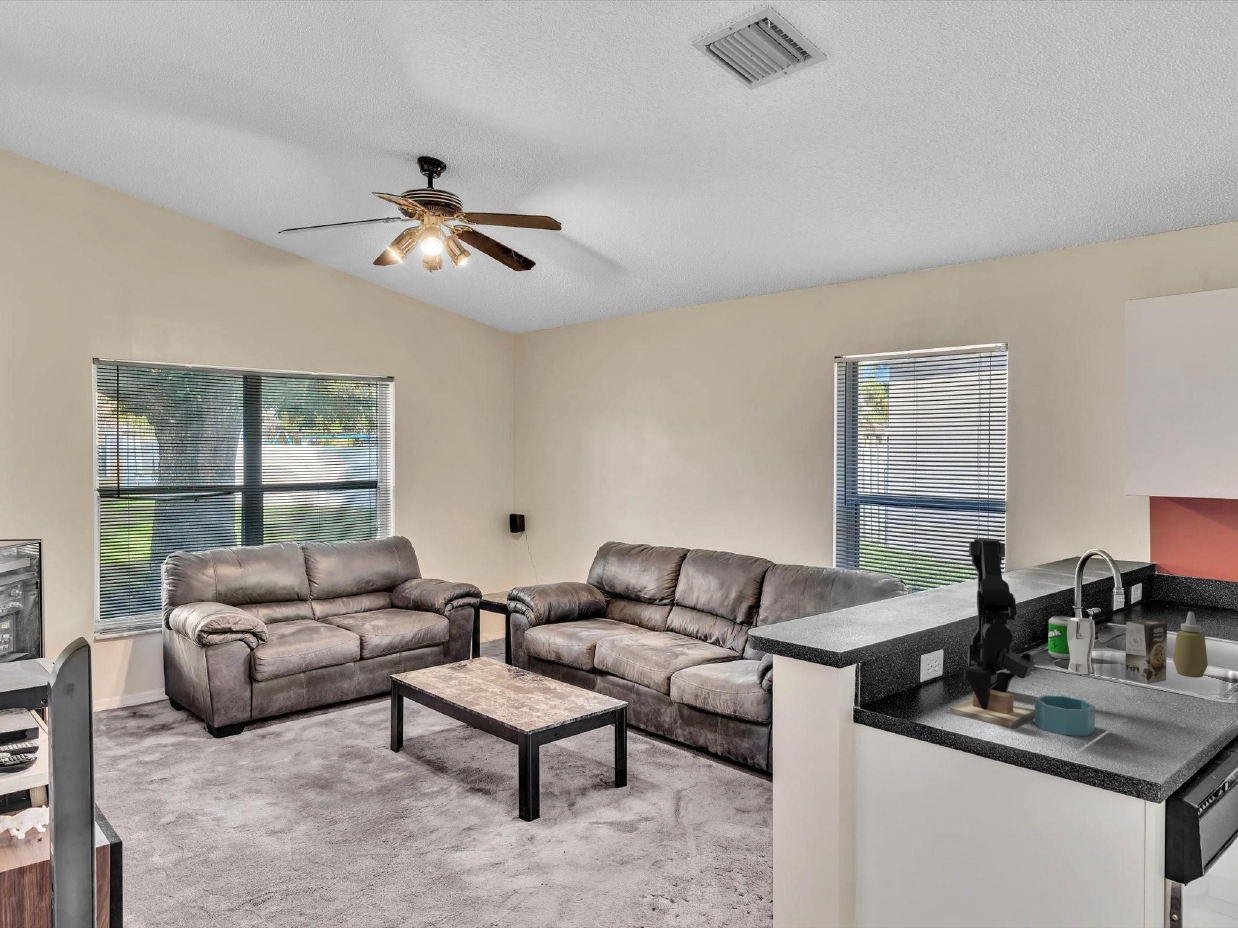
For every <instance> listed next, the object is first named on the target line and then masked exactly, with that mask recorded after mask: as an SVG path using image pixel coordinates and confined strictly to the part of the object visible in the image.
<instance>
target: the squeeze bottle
mask: <svg viewBox="0 0 1238 928" xmlns="http://www.w3.org/2000/svg"><path fill="white" fill-rule="evenodd" d="M1172 661H1173V664H1174V667H1175V669H1176V672H1177V674H1178V675H1179V676H1183V677H1187V678H1195V679H1197V678H1204V674H1205V672H1206V671H1207V668H1208V665H1209V663H1208V654H1207V644H1206V636H1205V634H1203V633H1202V625H1199V624H1197V620H1196V618H1195V612H1193V611H1188V613H1187V616H1186V620H1185V622H1184V623H1180V630H1179V631H1177V632H1176V637H1175V645H1174V652H1173V658H1172Z"/></svg>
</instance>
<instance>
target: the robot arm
mask: <svg viewBox="0 0 1238 928" xmlns="http://www.w3.org/2000/svg"><path fill="white" fill-rule="evenodd" d="M968 555H969V557H971V564H972V566H973V567H974V569H975V570H976V572H977V592H976V609H977V629H976V630H975V632H974V633H973V634H972V636H971V640H970V643H969V644H968V647H967V648H968V649H967V665H968V667H967V668H966V669H964V671H963V672H964V673H963V676H964V677H963V679H964V680H965V681H966V682H967V683H969V686H968V687H967V689H968V690H971V691H972V692H973V691H974V693H975V695H976V697H977V699H978V701H979V703H980V705H981V708H982V709H984V710H987V709H988V704H989V697H990V691H991V690H995V691H1000V692H1004V693H1008V689H1009V686H1010V683H1011V681H1012V680H1013V679H1014V678H1016V677H1017V678H1019V679H1025V678H1027V677H1030V675H1031V672H1032V671H1033V669H1035V668H1036V665H1035V664H1036V662H1035V661H1034V655H1033V654H1031V653H1029V652H1024V653H1023V654H1022V655H1021V654H1020V653H1014V652H1013V648H1012V646H1011V645H1012V643H1013V637H1014V636H1013V634H1012V633H1013V632H1012V631H1011V629H1010V628H1009V625H1008V624H1009V623H1008V620H1009V621H1014V620H1015V617H1016V616H1017V603H1016V598H1015V596H1014V594H1013V592H1011V591H1010V585H1009V583H1008V582H1006V581H1005V580H1004V579H1003V574H1002V566H1001V565H1002V559H1005V557H1006V542H1001V541H1000V540H999V539H983V538H981V539H980V538H974V539H973V541H970V542H969V544H968Z"/></svg>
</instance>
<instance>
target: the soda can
mask: <svg viewBox="0 0 1238 928" xmlns="http://www.w3.org/2000/svg"><path fill="white" fill-rule="evenodd" d="M1068 618H1070V617H1069V616H1064V615H1062V616H1061V615H1059V616H1058V615H1056V616H1055V615H1054V616H1051V618H1049V619H1048V645H1047V648H1048V651H1047V653H1048V654H1049V655H1050V656H1051V657H1052V658H1056V659H1060V660H1070V653H1069V647H1068V641H1067V626H1068Z"/></svg>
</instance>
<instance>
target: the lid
mask: <svg viewBox="0 0 1238 928" xmlns="http://www.w3.org/2000/svg"><path fill="white" fill-rule="evenodd" d="M950 709H951V712H952V713H956V714H960V715H964V716H968V717H972V718H976V719H980V720H984V721H989V722H993V723H997V724H1001V725H1005V726H1009V727H1012V726H1014V725H1016V724H1018V723H1020V722H1022V721H1024V720H1025V719H1027V718H1029V717H1031V716H1033V715H1035V708H1034V709H1033V708H1028V707H1024V706H1020V705H1019V706H1018V705H1015V704H1014V694H1013V693H1008V692H1007V693H1004V692H1000V691H995V690H991V691H990V697H989V704H988V709H987V710H984V709H982V708H981V705H980V703H979V701H978V699H977V697H976V695H975V693H974V691H973V690H972V698H970V699H968V700H965V701H963V702H961V703H959V704H956V705H954V706H952V707H950Z"/></svg>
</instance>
